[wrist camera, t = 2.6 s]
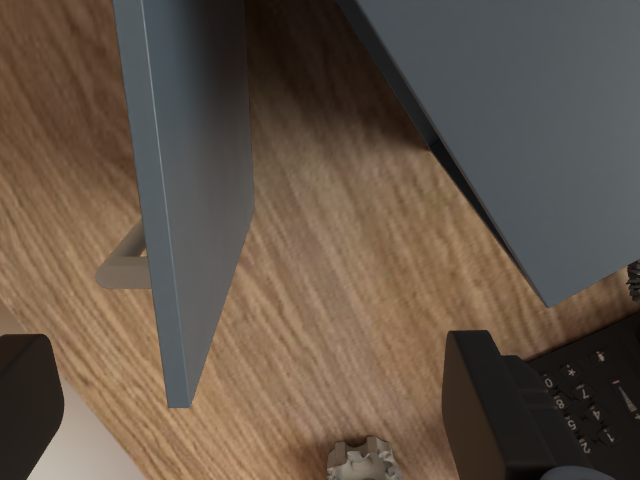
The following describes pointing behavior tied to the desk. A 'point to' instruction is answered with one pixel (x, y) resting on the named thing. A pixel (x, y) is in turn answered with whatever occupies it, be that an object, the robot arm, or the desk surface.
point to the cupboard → (526, 121)
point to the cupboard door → (185, 171)
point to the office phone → (602, 391)
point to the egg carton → (363, 462)
